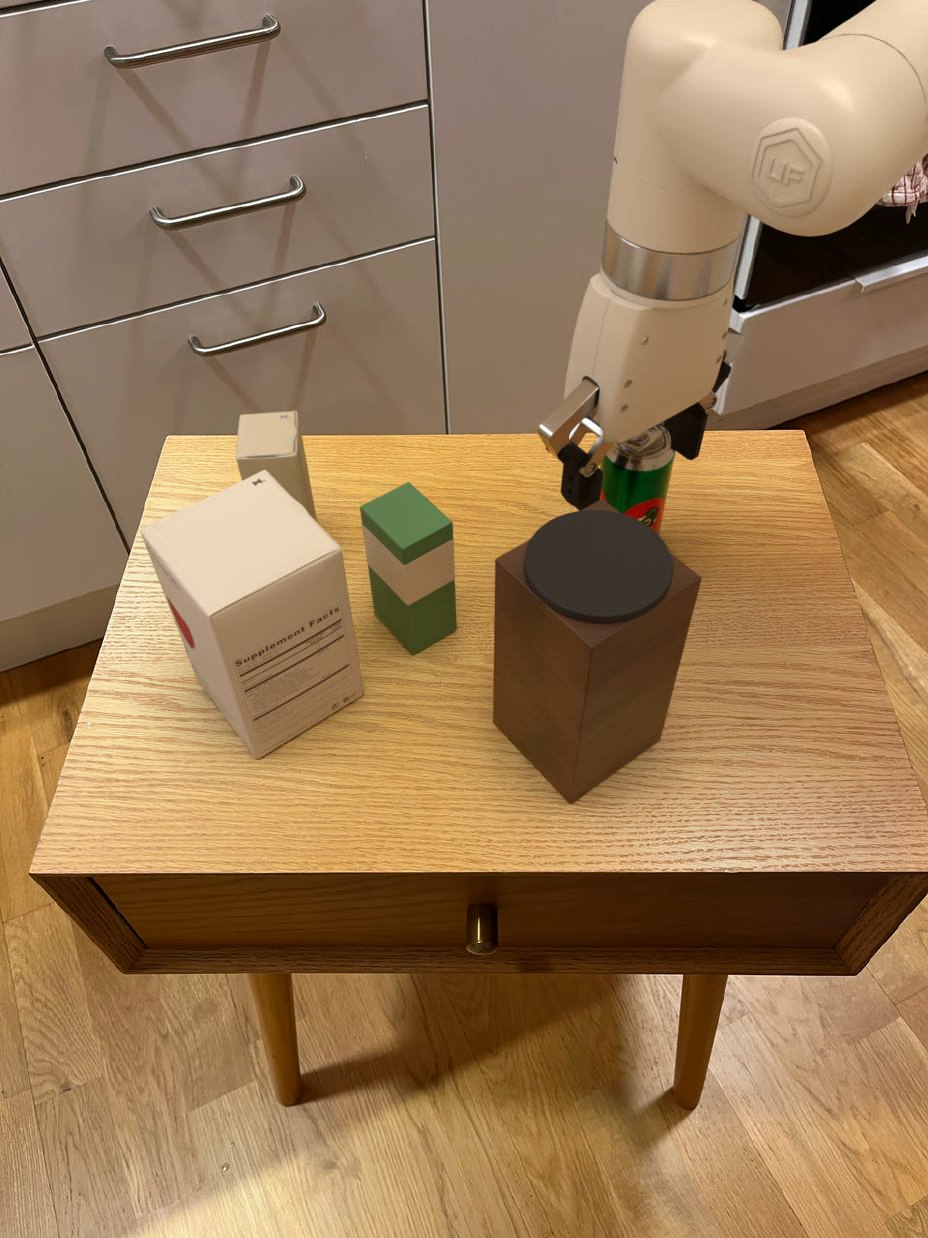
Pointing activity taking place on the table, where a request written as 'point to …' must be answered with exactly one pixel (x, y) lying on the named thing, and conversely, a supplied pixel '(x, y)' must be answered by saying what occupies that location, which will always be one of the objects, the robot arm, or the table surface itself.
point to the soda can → (639, 475)
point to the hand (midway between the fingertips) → (630, 476)
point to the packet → (410, 566)
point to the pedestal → (584, 676)
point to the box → (275, 453)
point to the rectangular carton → (259, 609)
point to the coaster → (598, 566)
